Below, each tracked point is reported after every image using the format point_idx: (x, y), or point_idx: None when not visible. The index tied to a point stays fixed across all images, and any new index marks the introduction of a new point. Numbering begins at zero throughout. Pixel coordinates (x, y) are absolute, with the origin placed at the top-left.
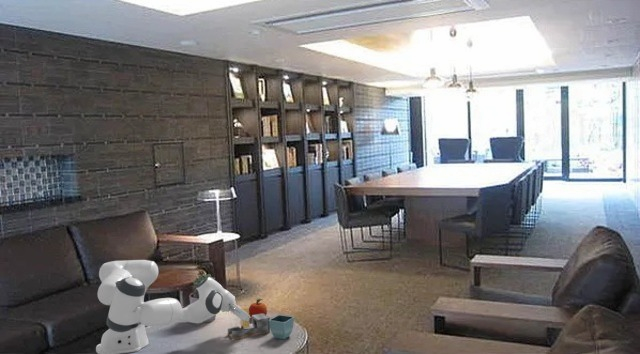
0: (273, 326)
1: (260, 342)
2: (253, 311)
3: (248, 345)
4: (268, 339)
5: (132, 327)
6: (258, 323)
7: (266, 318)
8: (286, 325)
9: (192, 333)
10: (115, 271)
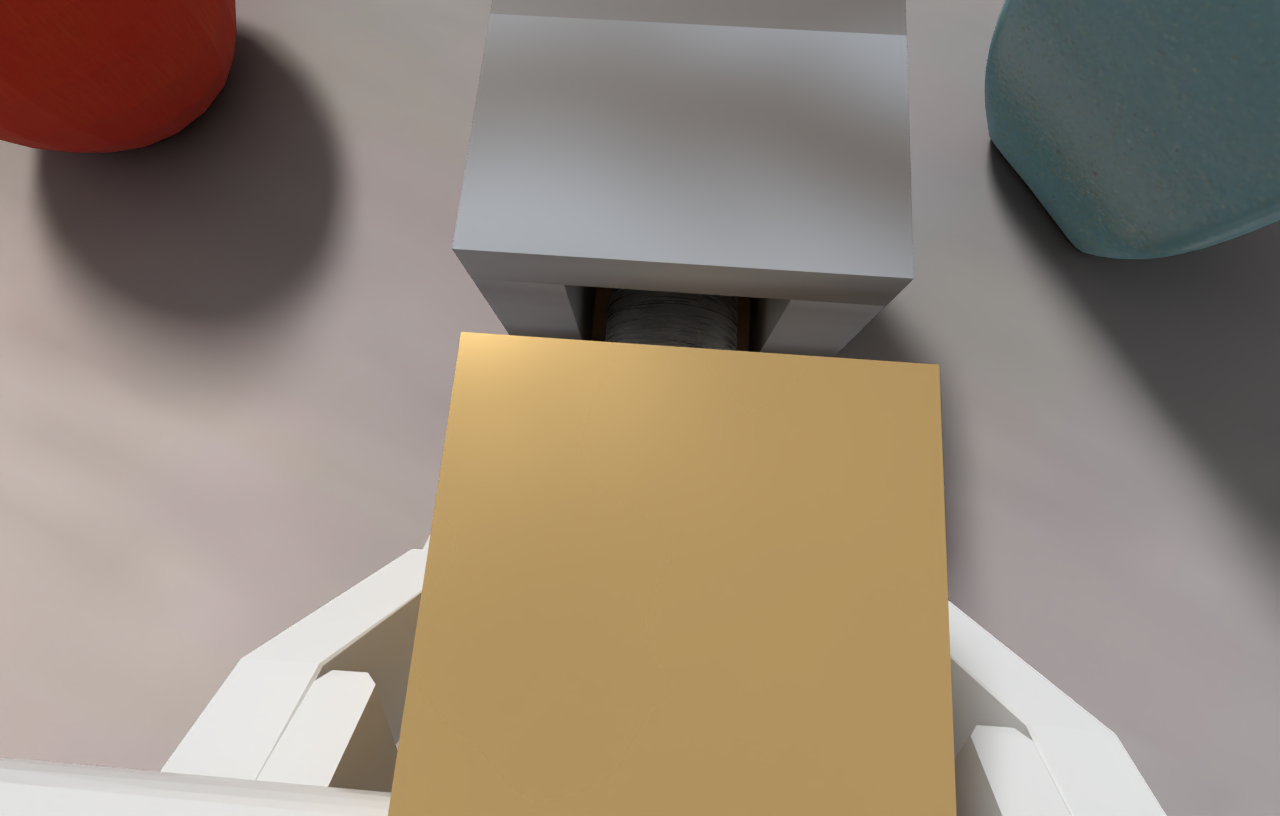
0: None
1: (1155, 521)
2: (48, 46)
3: (1204, 766)
4: (1084, 357)
5: None
6: (875, 310)
7: (907, 71)
8: None
9: None
10: None
